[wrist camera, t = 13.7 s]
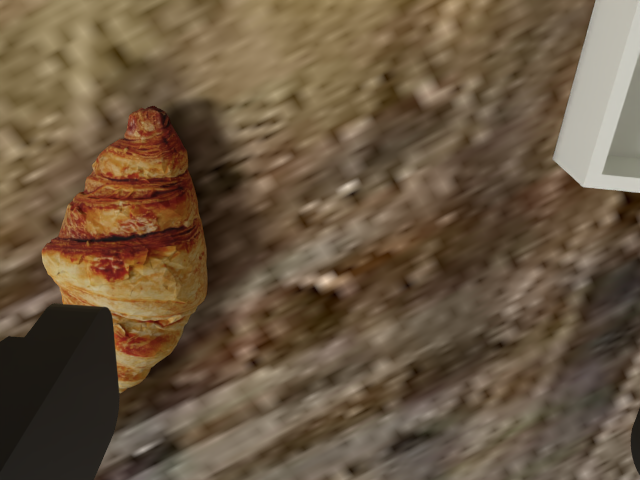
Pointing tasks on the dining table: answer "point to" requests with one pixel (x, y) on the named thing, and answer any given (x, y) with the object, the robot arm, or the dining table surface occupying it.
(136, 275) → the croissant
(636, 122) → the bin
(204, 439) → the dining table surface
